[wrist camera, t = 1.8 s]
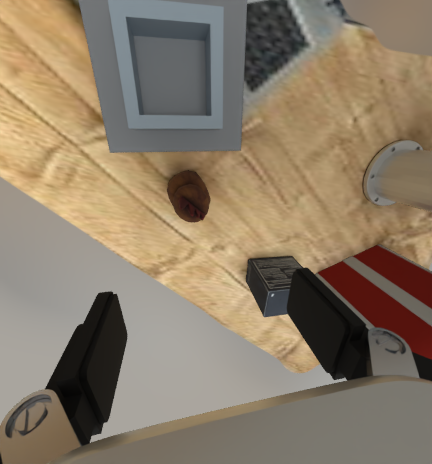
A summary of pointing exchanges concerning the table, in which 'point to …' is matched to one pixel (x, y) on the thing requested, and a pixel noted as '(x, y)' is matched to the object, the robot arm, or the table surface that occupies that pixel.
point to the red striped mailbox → (386, 294)
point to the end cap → (168, 72)
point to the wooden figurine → (189, 196)
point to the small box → (271, 283)
